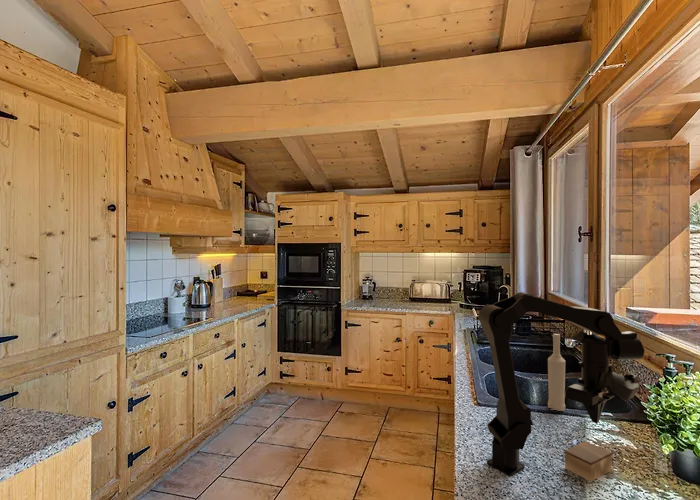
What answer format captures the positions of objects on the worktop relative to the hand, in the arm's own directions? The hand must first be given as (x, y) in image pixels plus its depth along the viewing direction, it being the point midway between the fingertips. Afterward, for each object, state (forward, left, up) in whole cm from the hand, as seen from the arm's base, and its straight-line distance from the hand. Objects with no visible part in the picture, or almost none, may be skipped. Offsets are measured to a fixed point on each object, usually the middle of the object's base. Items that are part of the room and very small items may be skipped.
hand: (595, 422), depth 92 cm
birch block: (+1, 0, -9) cm, 9 cm away
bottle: (+25, +22, -11) cm, 35 cm away
